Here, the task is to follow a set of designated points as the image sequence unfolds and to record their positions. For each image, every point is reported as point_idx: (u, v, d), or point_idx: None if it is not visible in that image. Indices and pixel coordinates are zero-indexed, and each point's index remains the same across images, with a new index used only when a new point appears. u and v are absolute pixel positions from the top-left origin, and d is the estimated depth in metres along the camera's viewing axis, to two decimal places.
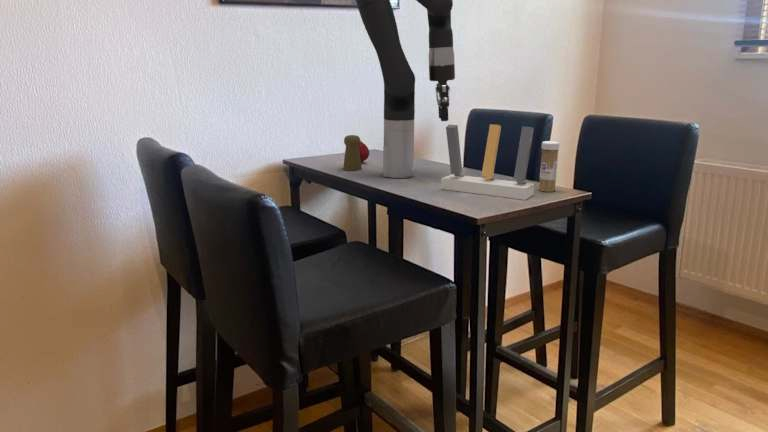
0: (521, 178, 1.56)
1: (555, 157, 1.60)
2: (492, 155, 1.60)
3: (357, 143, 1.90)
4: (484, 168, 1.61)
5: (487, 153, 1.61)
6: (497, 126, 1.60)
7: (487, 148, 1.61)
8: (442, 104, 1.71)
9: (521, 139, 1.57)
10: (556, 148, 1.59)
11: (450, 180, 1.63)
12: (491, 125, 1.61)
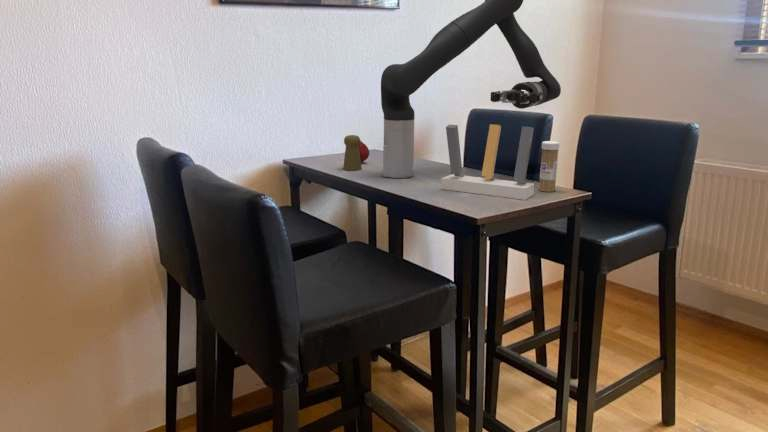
0: (521, 178, 1.56)
1: (555, 157, 1.60)
2: (492, 155, 1.60)
3: (357, 143, 1.90)
4: (484, 168, 1.61)
5: (487, 153, 1.61)
6: (497, 126, 1.60)
7: (487, 148, 1.61)
8: (536, 95, 1.66)
9: (521, 139, 1.57)
10: (556, 148, 1.59)
11: (450, 180, 1.63)
12: (491, 125, 1.61)
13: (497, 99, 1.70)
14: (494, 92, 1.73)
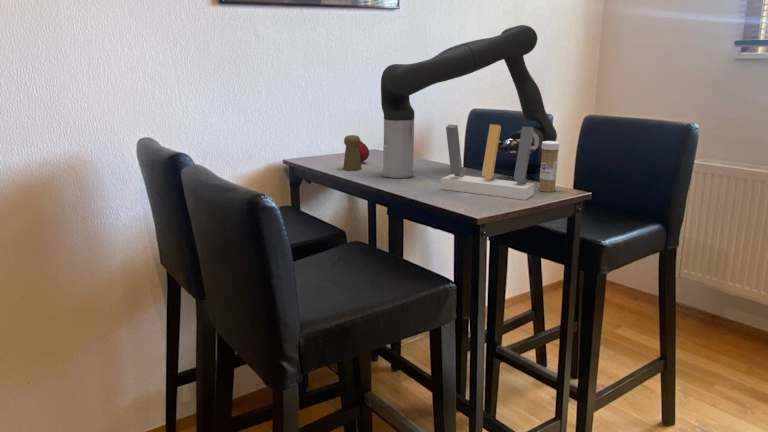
0: (521, 178, 1.56)
1: (555, 157, 1.60)
2: (492, 155, 1.60)
3: (357, 143, 1.90)
4: (484, 168, 1.61)
5: (487, 153, 1.61)
6: (497, 126, 1.60)
7: (487, 148, 1.61)
8: None
9: (521, 139, 1.57)
10: (556, 148, 1.59)
11: (450, 180, 1.63)
12: (491, 125, 1.61)
13: None
14: None
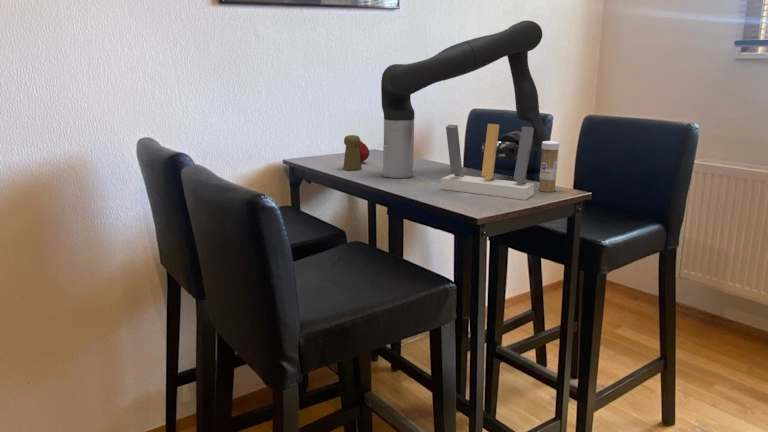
0: (521, 178, 1.56)
1: (555, 157, 1.60)
2: (491, 155, 1.60)
3: (357, 143, 1.90)
4: (484, 168, 1.61)
5: (486, 153, 1.60)
6: (495, 125, 1.59)
7: (486, 148, 1.60)
8: (508, 149, 1.64)
9: (521, 139, 1.57)
10: (556, 148, 1.59)
11: (450, 180, 1.63)
12: (489, 124, 1.60)
13: None
14: None
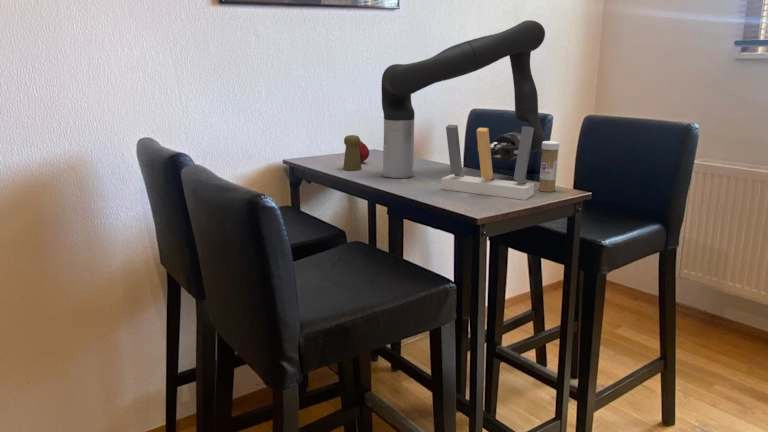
0: (521, 178, 1.56)
1: (555, 157, 1.60)
2: (487, 159, 1.57)
3: (357, 143, 1.90)
4: (482, 171, 1.60)
5: (481, 158, 1.58)
6: (484, 132, 1.53)
7: (480, 153, 1.57)
8: (504, 150, 1.61)
9: (521, 139, 1.57)
10: (556, 148, 1.59)
11: (450, 180, 1.63)
12: (478, 131, 1.54)
13: None
14: None
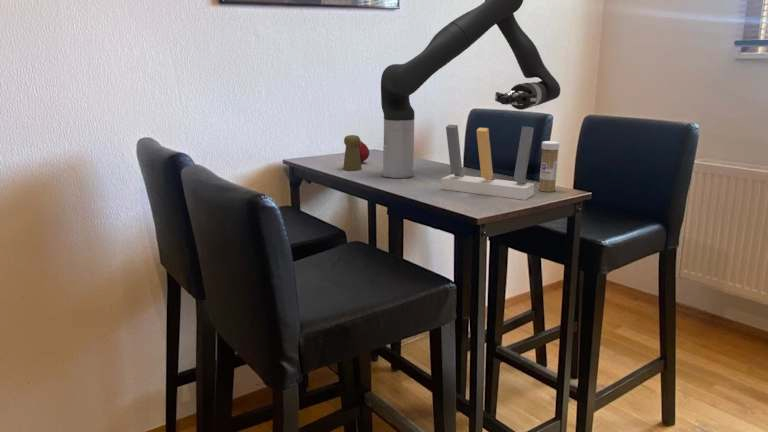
0: (521, 178, 1.56)
1: (555, 157, 1.60)
2: (487, 159, 1.57)
3: (357, 143, 1.90)
4: (482, 171, 1.60)
5: (481, 158, 1.58)
6: (484, 132, 1.53)
7: (480, 153, 1.57)
8: (521, 97, 1.68)
9: (521, 139, 1.57)
10: (556, 148, 1.59)
11: (450, 180, 1.63)
12: (478, 131, 1.54)
13: None
14: (503, 94, 1.71)
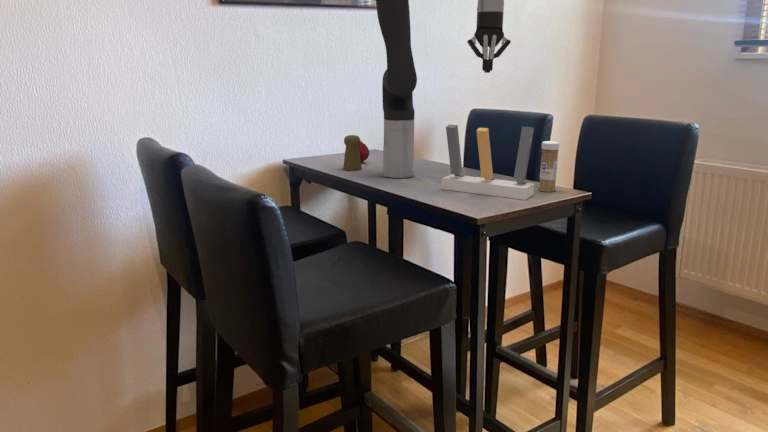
0: (521, 178, 1.56)
1: (555, 157, 1.60)
2: (487, 159, 1.57)
3: (357, 143, 1.90)
4: (482, 171, 1.60)
5: (481, 158, 1.58)
6: (484, 132, 1.53)
7: (480, 153, 1.57)
8: None
9: (521, 139, 1.57)
10: (556, 148, 1.59)
11: (450, 180, 1.63)
12: (478, 131, 1.54)
13: None
14: (479, 53, 1.74)
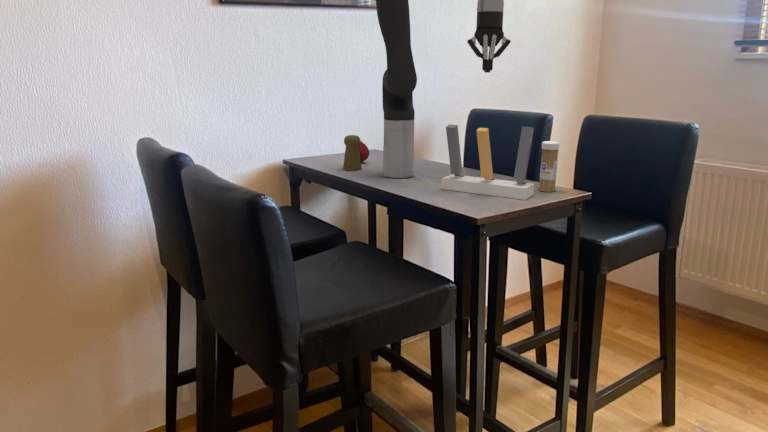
0: (521, 178, 1.56)
1: (555, 157, 1.60)
2: (487, 159, 1.57)
3: (357, 143, 1.90)
4: (482, 171, 1.60)
5: (481, 158, 1.58)
6: (484, 132, 1.53)
7: (480, 153, 1.57)
8: None
9: (521, 139, 1.57)
10: (556, 148, 1.59)
11: (450, 180, 1.63)
12: (478, 131, 1.54)
13: None
14: (479, 53, 1.74)
